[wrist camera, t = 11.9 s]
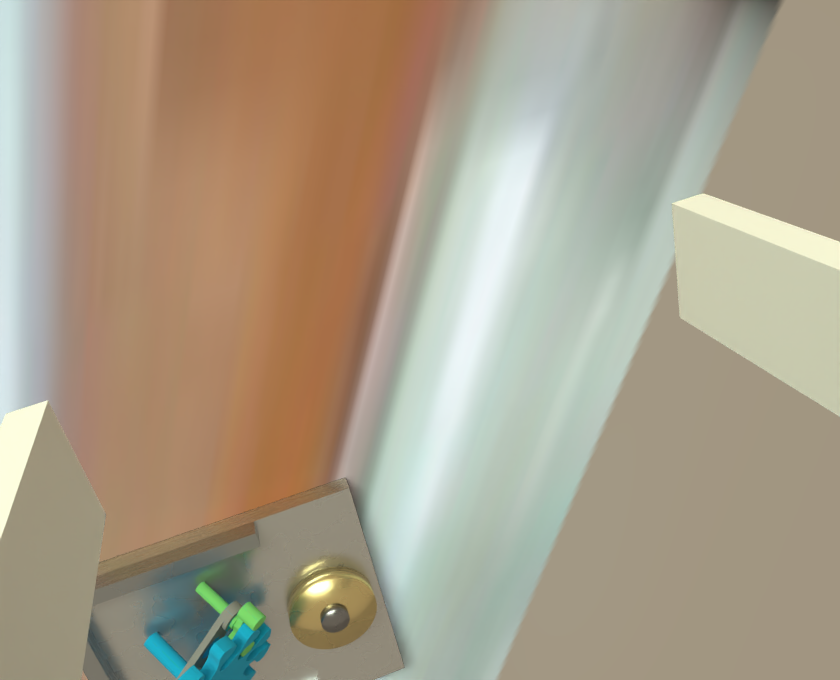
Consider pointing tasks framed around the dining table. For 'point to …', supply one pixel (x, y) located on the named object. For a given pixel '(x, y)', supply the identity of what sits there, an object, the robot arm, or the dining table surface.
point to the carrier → (251, 594)
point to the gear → (219, 643)
